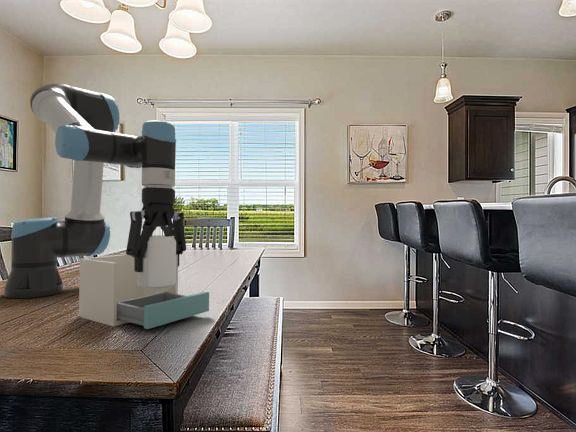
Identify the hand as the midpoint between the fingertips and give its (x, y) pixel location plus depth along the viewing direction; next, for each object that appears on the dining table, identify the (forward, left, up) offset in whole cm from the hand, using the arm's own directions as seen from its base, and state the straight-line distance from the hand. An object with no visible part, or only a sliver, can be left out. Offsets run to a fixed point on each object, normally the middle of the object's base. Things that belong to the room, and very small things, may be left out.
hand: (157, 283), depth 88 cm
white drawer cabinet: (-10, 0, -9) cm, 13 cm away
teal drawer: (+1, 0, -7) cm, 7 cm away
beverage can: (0, 0, -1) cm, 1 cm away
